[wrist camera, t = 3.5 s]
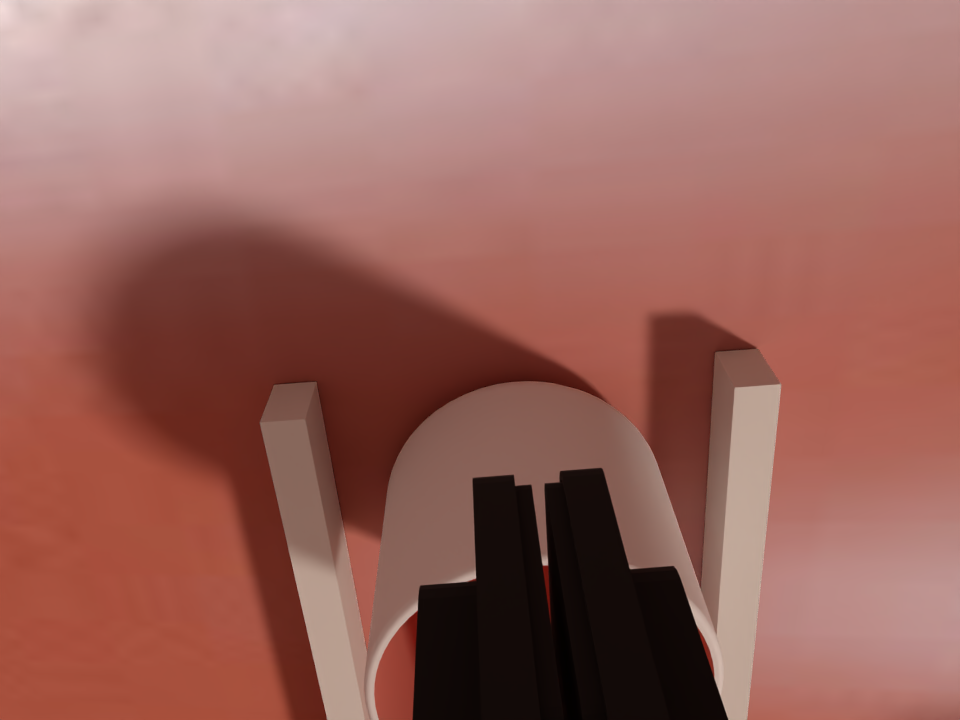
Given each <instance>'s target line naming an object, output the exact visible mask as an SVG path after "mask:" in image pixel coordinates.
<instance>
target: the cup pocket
mask: <svg viewBox="0 0 960 720" xmlns="http://www.w3.org/2000/svg"><path fill="white" fill-rule="evenodd" d="M780 392H781V383H780V381H779V380H778V378H777V377H776V375H775V374H774V372H773V371H772V369H771V368H770V366H769V365H768V363H767V362H766V360H765V359H764V357H763V355H762V354H761V352H760V351H759V349H747V350H734V351H720V352H715V360H714V377H713V393H712V410H711V427H710V444H709V460H708V477H707V494H706V511H705V528H704V544H703V561H702V578H701V592H702V595H703V597H704V600H705V603H706V606H707V609H708V612H709V615H710V618H711V621H712V624H713V626H714V629H715V632H716V635H717V638H718V641H719V644H720V648H721V652H722V656H723V665H724V680H723V688H722V693H721V699H722V702H723V705H724V708H725V711H726V714H727V717H728V720H747V715H748V705H749V696H750V686H751V676H752V666H753V656H754V647H755V637H756V627H757V617H758V607H759V598H760V588H761V578H762V568H763V558H764V549H765V539H766V529H767V519H768V509H769V500H770V490H771V480H772V470H773V460H774V451H775V441H776V431H777V421H778V411H779V402H780ZM260 426H261V431H262V435H263V439H264V444H265V448H266V453H267V457H268V461H269V466H270V470H271V475H272V479H273V483H274V488H275V492H276V497H277V501H278V505H279V510H280V514H281V518H282V523H283V527H284V532H285V536H286V540H287V545H288V549H289V554H290V558H291V562H292V567H293V571H294V576H295V580H296V584H297V589H298V593H299V598H300V602H301V606H302V611H303V615H304V619H305V624H306V628H307V633H308V637H309V641H310V646H311V650H312V655H313V659H314V663H315V668H316V672H317V677H318V681H319V685H320V690H321V694H322V699H323V703H324V707H325V712H326V716H327V720H370V718H369V715H368V711H367V707H366V703H365V696H364V675H365V667H366V659H367V650H366V645H365V639H364V634H363V628H362V623H361V618H360V612H359V607H358V602H357V596H356V591H355V586H354V580H353V575H352V570H351V564H350V559H349V553H348V548H347V543H346V537H345V532H344V527H343V521H342V516H341V511H340V505H339V500H338V495H337V489H336V484H335V478H334V473H333V468H332V462H331V457H330V452H329V446H328V441H327V436H326V430H325V425H324V420H323V414H322V409H321V403H320V398H319V393H318V387H317V382H304V383H290V384H277V385H274V386H273V389H272V391H271V394H270V397H269V399H268V402H267V405H266V407H265V410H264V412H263V415H262V418H261V420H260Z"/></svg>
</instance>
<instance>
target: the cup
mask: <svg viewBox="0 0 960 720" xmlns="http://www.w3.org/2000/svg"><path fill="white" fill-rule="evenodd" d="M591 468H602V469H603V471H604V474H605V478H606V482H607V486H608V489H609V493H610V497H611V500H612V504H613V508H614V512H615V515H616V519H617V523H618V527H619V530H620V534H621V538H622V542H623V545H624V549H625V553H626V557H627V560H628V564H629V568H630V569H639V568H651V567H664V566H674V567H675V568H676V569H677V571H678V573H679V576H680V578H681V581H682V584H683V587H684V590H685V593H686V596H687V599H688V602H689V605H690V608H691V610H692V613H693V616H694V619H695V622H696V625H697V628H698V631H699V634H700V637H701V640H702V643H703V646H704V649H705V652H706V655H707V658H708V661H709V664H710V667H711V670H712V673H713V676H714V679H715V682H716V684H717V687H718V690H719V693H720V696H721V693H722V688H723V680H724V665H723V656H722V652H721V648H720V644H719V641H718V638H717V635H716V632H715V629H714V626H713V624H712V621H711V618H710V615H709V612H708V609H707V606H706V603H705V600H704V597H703V595H702V592H701V589H700V586H699V583H698V580H697V577H696V574H695V571H694V569H693V566H692V563H691V560H690V557H689V554H688V551H687V548H686V545H685V542H684V540H683V537H682V534H681V531H680V528H679V525H678V522H677V519H676V516H675V513H674V511H673V508H672V505H671V502H670V499H669V496H668V493H667V490H666V487H665V484H664V481H663V479H662V476H661V473H660V470H659V467H658V464H657V462H656V459H655V457H654V454H653V452H652V450H651V448H650V446H649V445H648V443H647V442H646V440H645V439H644V437H643V435H642V434H641V433H640V432H639V430H638V429H637V428H636V427H635V426H634V425H633V424H632V423H631V422H630V421H629V420H628V419H627V418H626V417H625V416H624V415H623V414H622V413H621V412H619V411H618V410H617V409H615V408H614V407H612V406H611V405H610V404H608V403H606V402H605V401H603V400H601V399H600V398H598V397H596V396H593V395H591V394H589V393H587V392H584V391H581V390H579V389H575V388H571V387H567V386H563V385H559V384H555V383H548V382H537V381H519V382H508V383H501V384H495V385H492V386H488V387H484V388H480V389H478V390H475V391H472V392H469V393H467V394H464V395H462V396H460V397H458V398H456V399H454V400H452V401H450V402H449V403H447V404H446V405H444V406H443V407H441V408H439V409H438V410H436V411H435V412H434V413H433V414H432V415H430V416H429V417H428V418H427V419H426V420H424V421H423V422H422V424H421V425H420V426H419V427H418V428H417V429H416V430H415V431H414V432H413V433H412V435H411V436H410V437H409V439H408V440H407V441H406V443H405V444H404V446H403V448H402V450H401V451H400V453H399V455H398V457H397V459H396V461H395V464H394V466H393V469H392V472H391V475H390V479H389V483H388V490H387V497H386V505H385V513H384V521H383V530H382V538H381V546H380V554H379V562H378V570H377V578H376V586H375V595H374V603H373V611H372V619H371V627H370V635H369V643H368V651H367V659H366V667H365V675H364V696H365V703H366V707H367V711H368V715H369V718H370V720H413V698H414V677H415V655H416V634H417V612H418V595H419V588H420V585H432V584H444V583H457V582H470V581H476V563H475V537H474V510H473V482H472V479H473V478H476V477H489V476H501V475H514V480H515V486H518V485H532V492H533V499H534V506H535V514H536V521H537V528H538V535H539V543H540V550H541V557H542V564H543V572H544V579H545V586H546V593H547V601H548V608H549V615H550V596H549V575H548V554H547V534H546V513H545V492H544V484H545V483H556V482H559V475H560V471H565V470H578V469H591ZM550 622H551V616H550Z"/></svg>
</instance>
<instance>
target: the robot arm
mask: <svg viewBox="0 0 960 720" xmlns="http://www.w3.org/2000/svg"><path fill="white" fill-rule="evenodd" d="M472 482H473V510H474V537H475V563H476V581H470V582H457V583H444V584H432V585H420V588H419V595H418V612H417V634H416V655H415V677H414V698H413V720H728V717H727V714H726V711H725V708H724V705H723V702H722V699H721V696H720V693H719V690H718V687H717V684H716V682H715V679H714V676H713V673H712V670H711V667H710V664H709V661H708V658H707V655H706V652H705V649H704V646H703V643H702V640H701V637H700V634H699V631H698V628H697V625H696V622H695V619H694V616H693V613H692V610H691V608H690V605H689V602H688V599H687V596H686V593H685V590H684V587H683V584H682V581H681V578H680V576H679V573H678V571H677V569H676V568H675V567H674V566H664V567H651V568H639V569H630V568H629V564H628V560H627V557H626V553H625V549H624V545H623V542H622V538H621V534H620V530H619V527H618V523H617V519H616V515H615V512H614V508H613V504H612V500H611V497H610V493H609V489H608V486H607V482H606V478H605V474H604V471H603V469H602V468H591V469H578V470H565V471H560V475H559V482H556V483H545V484H544V492H545V513H546V534H547V554H548V575H549V596H550V615H549V608H548V601H547V593H546V586H545V579H544V572H543V564H542V557H541V550H540V543H539V535H538V528H537V521H536V514H535V506H534V499H533V492H532V485H518V486H515V480H514V475H501V476H489V477H476V478H473V479H472ZM550 616H551V622H550Z"/></svg>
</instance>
